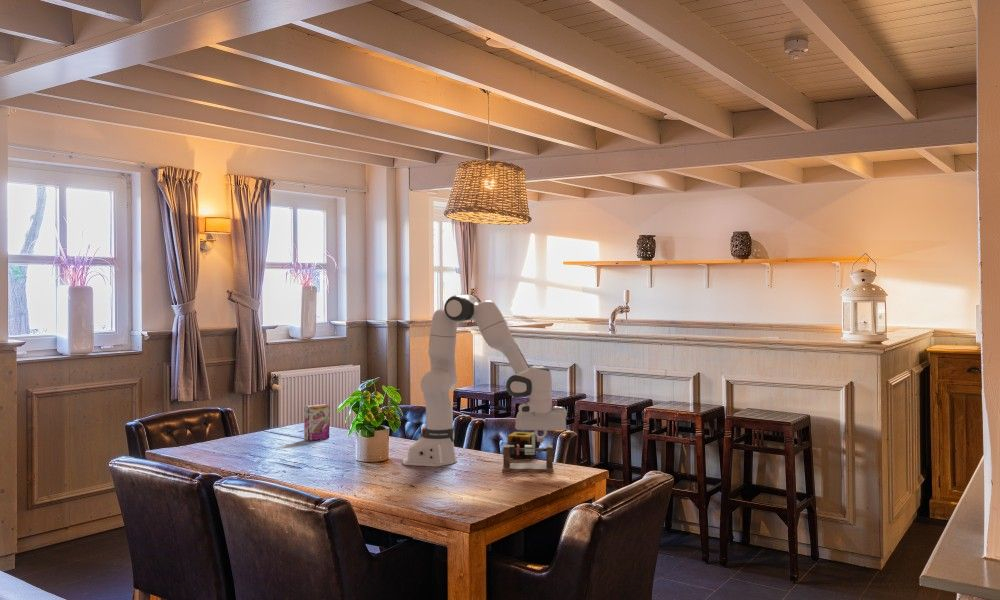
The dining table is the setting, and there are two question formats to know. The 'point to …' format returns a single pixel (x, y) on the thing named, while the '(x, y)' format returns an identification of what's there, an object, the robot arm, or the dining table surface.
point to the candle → (521, 444)
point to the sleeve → (530, 446)
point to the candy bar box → (316, 422)
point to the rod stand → (527, 466)
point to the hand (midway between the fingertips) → (540, 441)
